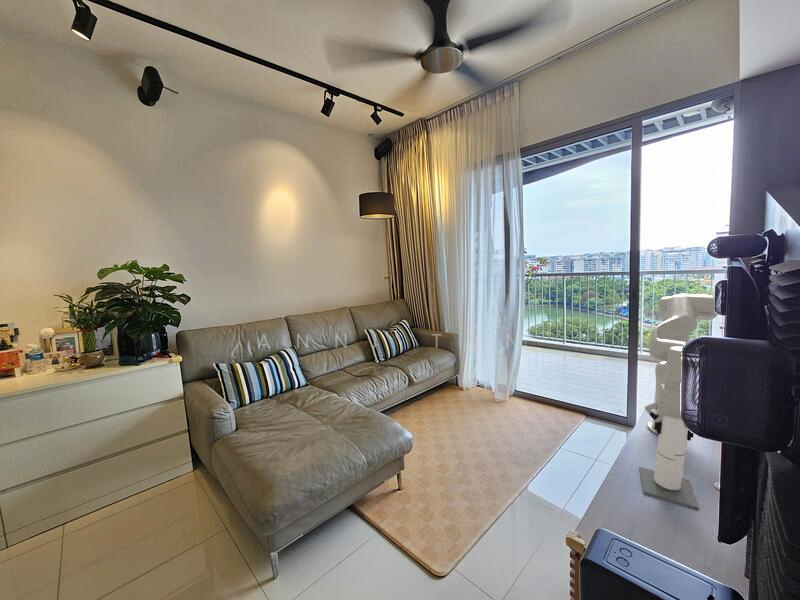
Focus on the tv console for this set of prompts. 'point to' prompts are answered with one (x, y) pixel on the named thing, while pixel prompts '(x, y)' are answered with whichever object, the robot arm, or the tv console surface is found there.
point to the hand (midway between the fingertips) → (672, 434)
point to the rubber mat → (668, 490)
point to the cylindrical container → (670, 453)
